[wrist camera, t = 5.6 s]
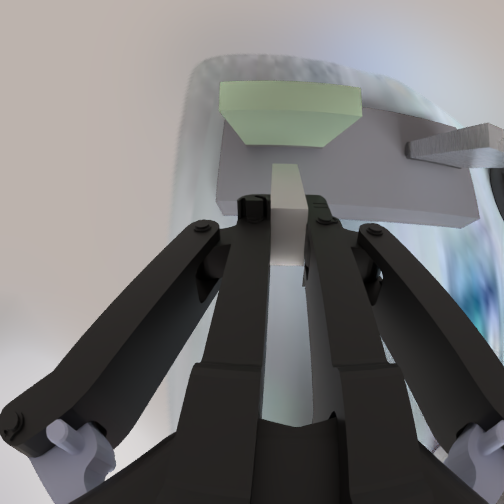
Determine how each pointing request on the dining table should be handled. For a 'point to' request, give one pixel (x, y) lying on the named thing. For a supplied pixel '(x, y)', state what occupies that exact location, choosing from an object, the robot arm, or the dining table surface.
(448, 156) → the light grey rectangular slab
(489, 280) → the dining table surface
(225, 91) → the pale green flat slab
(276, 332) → the dining table surface
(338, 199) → the panel
